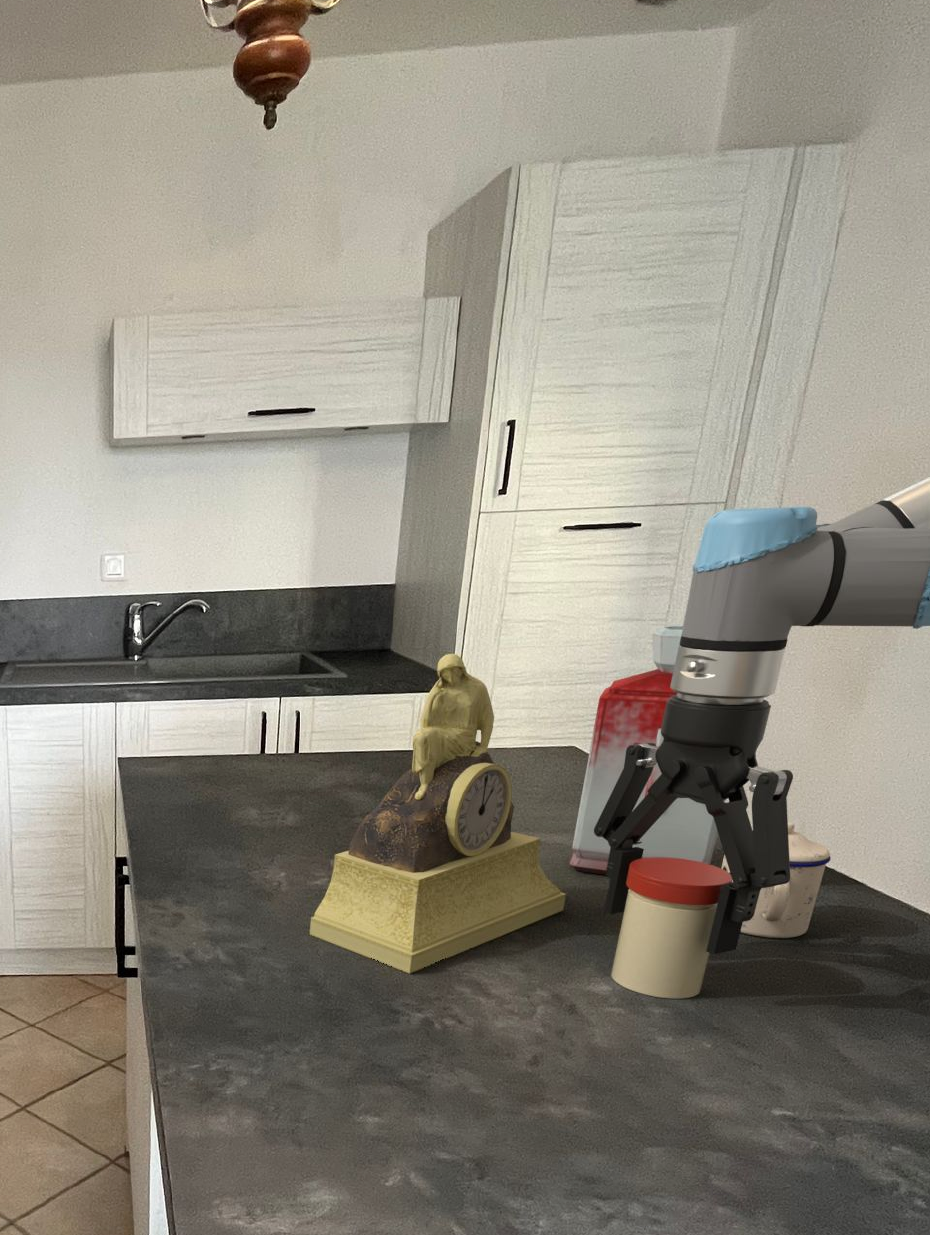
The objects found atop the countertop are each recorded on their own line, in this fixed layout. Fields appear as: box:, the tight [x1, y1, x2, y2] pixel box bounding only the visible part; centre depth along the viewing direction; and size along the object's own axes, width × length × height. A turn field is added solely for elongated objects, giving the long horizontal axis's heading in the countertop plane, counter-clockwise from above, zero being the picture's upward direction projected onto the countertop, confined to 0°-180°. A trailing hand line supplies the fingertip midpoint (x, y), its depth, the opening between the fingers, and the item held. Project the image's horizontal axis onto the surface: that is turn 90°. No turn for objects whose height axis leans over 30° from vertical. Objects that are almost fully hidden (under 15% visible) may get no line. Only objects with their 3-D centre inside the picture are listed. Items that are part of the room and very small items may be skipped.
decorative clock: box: [309, 653, 567, 975], centre depth 106 cm, size 28×13×30 cm, turn 123°
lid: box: [626, 857, 732, 905], centre depth 92 cm, size 8×8×2 cm
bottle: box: [568, 625, 726, 876], centre depth 119 cm, size 14×10×30 cm
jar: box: [610, 889, 718, 1000], centre depth 94 cm, size 7×7×11 cm
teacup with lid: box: [720, 821, 831, 939], centre depth 104 cm, size 12×9×12 cm
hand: (666, 929), depth 94 cm, fingers open, 10 cm apart
